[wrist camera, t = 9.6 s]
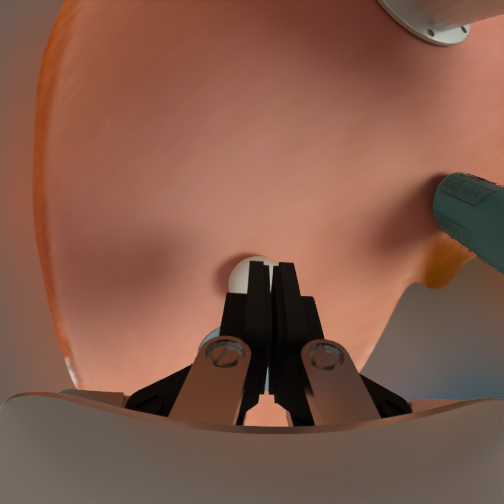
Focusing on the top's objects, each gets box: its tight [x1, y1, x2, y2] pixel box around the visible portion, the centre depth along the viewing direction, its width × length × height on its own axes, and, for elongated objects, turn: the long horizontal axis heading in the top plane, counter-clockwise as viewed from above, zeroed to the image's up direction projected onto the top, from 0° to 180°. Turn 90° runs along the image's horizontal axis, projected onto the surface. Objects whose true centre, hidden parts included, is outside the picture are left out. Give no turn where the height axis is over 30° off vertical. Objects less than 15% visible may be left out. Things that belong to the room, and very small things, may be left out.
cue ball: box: [228, 256, 278, 294], centre depth 24 cm, size 5×5×5 cm
